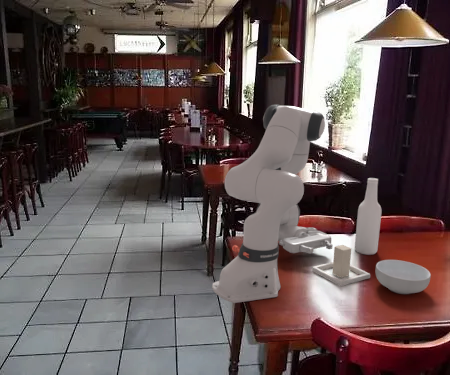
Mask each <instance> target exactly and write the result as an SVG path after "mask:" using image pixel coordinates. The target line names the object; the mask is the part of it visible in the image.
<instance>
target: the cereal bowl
mask: <svg viewBox="0 0 450 375" xmlns="http://www.w3.org/2000/svg"><path fill="white" fill-rule="evenodd" d="M374 272H375V278H376V279H377V280H378V282H379V283H380V285H382V286H383V287H384V288H385V287H386V288H388V290H390V291H391V292H393V293H395V294H400V295H411V294H415V293H420V292H422V291H424V290H426V289H427V287H428V286H429V284H430V281H431V276H432V275H431V272H430V271H429V269H427V268H426V267H423V266H422V265H420V264H417V263H413V262H410V261H405V260H400V259H399V260H398V259H384V260H379V261H378V262H376V264H375V271H374Z"/></svg>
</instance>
